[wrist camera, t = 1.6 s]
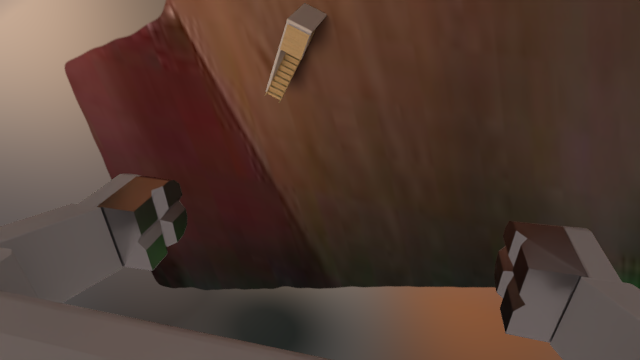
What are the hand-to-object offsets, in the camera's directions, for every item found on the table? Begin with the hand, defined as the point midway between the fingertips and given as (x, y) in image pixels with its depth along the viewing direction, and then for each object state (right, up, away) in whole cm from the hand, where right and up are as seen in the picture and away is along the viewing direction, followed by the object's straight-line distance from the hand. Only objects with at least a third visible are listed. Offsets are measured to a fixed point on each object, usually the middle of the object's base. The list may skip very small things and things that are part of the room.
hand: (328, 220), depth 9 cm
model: (-2, +20, +44) cm, 48 cm away
